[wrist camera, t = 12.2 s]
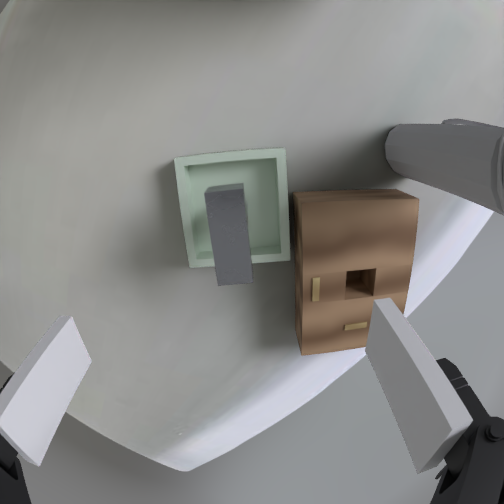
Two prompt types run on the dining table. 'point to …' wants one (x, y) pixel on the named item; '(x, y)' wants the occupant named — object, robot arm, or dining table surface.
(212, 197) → the t key
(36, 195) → the dining table surface
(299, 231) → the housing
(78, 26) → the dining table surface
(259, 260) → the tray
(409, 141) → the water bottle
